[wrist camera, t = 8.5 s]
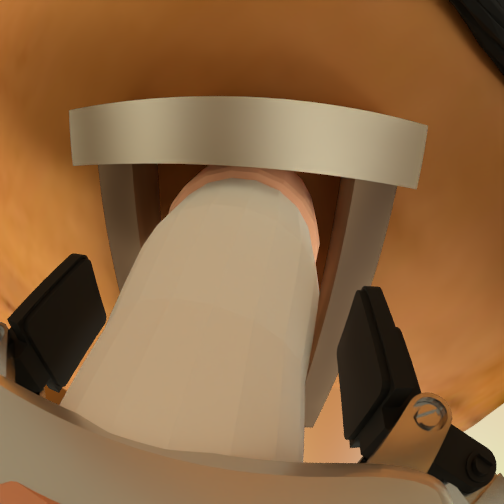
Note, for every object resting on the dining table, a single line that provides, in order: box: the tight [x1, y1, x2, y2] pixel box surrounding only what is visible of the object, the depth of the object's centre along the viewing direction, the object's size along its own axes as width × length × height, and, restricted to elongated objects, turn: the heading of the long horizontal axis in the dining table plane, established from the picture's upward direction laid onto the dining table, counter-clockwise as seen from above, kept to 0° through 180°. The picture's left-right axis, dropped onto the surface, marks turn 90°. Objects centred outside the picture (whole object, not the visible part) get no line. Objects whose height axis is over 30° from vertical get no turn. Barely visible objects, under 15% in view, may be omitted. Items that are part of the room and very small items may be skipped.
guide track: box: [69, 96, 428, 427], centre depth 17 cm, size 14×24×5 cm, turn 177°
